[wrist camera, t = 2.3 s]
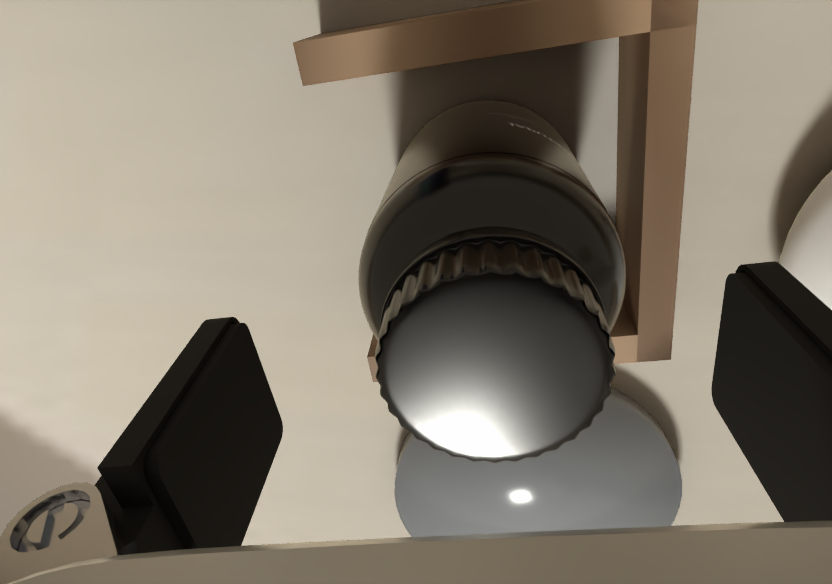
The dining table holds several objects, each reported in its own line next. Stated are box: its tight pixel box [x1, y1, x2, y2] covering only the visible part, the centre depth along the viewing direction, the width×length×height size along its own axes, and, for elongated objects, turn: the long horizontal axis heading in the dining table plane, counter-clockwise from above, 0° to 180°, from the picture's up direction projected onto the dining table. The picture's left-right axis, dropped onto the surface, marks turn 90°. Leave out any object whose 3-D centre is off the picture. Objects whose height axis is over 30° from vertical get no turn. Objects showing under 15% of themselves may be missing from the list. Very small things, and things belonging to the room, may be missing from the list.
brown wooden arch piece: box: [293, 0, 698, 382], centre depth 20 cm, size 11×12×4 cm
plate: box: [395, 388, 682, 537], centre depth 28 cm, size 14×14×1 cm
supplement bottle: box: [359, 100, 626, 463], centre depth 16 cm, size 7×7×12 cm
